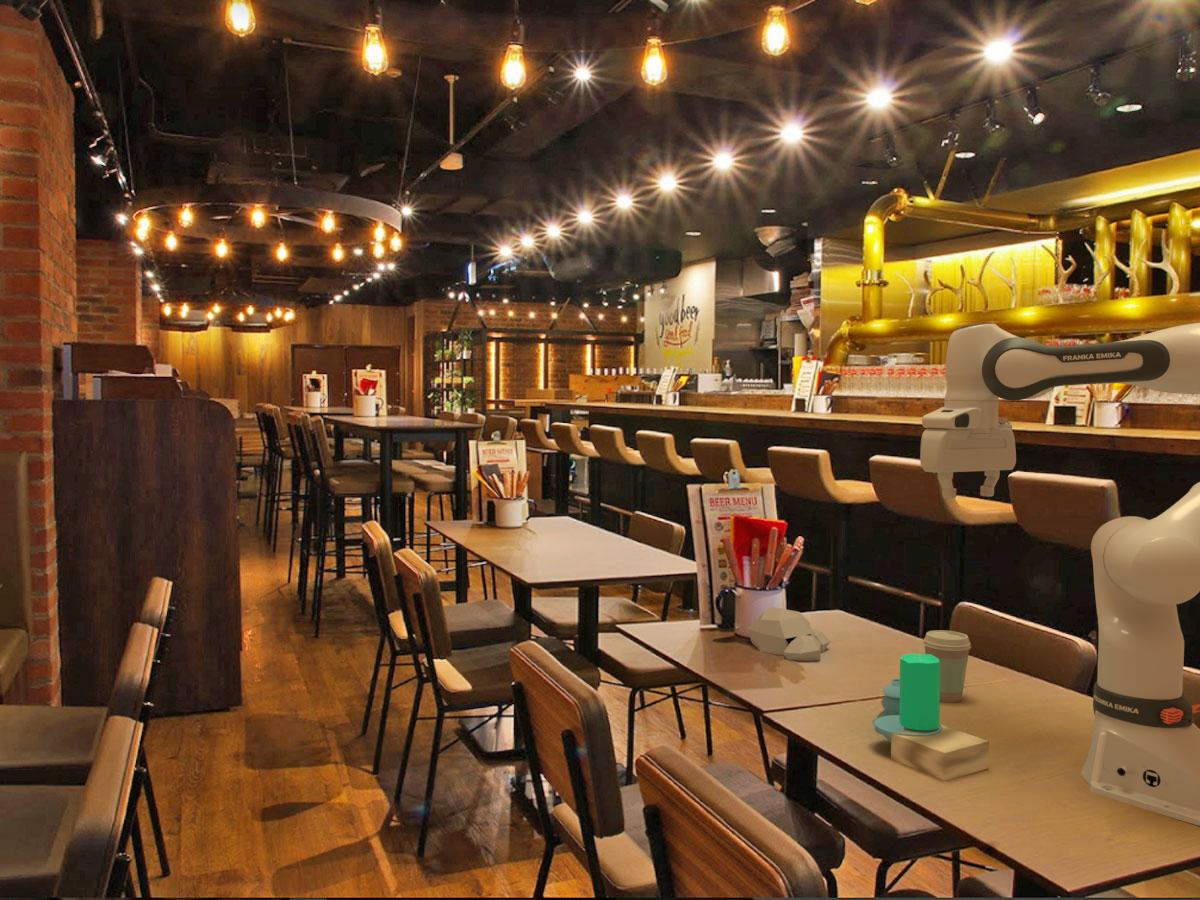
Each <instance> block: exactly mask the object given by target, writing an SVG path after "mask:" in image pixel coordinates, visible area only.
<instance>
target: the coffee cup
mask: <svg viewBox="0 0 1200 900" xmlns="http://www.w3.org/2000/svg"><path fill="white" fill-rule="evenodd" d="M922 644H923V645H924V653H925V654H931V655H933V656H935V657H936V658H938V659H939V661H940V702H943V703H958V702H960V701H962V699H963V694H964V693H963V692H964V687H965V680H966V674H967V666H968V660H969V654H970V649H971V648H972V646H971V641H970V639H969V636H968V635H967V634H965V633H963V632H959V631H953V630H944V629H943V630H941V629H940V630H937V629H935V630H928V631H927V632H926V634H925V636H924V638H923V642H922Z"/></svg>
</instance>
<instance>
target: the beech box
mask: <svg viewBox="0 0 1200 900" xmlns="http://www.w3.org/2000/svg"><path fill="white" fill-rule="evenodd" d="M940 725H941V726H942V730H941V731H940V732H939V733H937V734H934V735H929V736H905V735H898V734H894V733H892V735H891V743H890V744H891V745H890V759H891V760H893V761H896V762H898V763H901V764H903V765H905V766H907V767H910V768H912V769H915V770H917V771H919V772H922V773H924V774H926V775H929V776H931V777H933V778H936V779H938V780H941V781H943V782H945V781H949V780H950V781H951V780H953V779H957V778H961V777H966V776H969V775H973V774H977V773H980V772H985V771H987V770H989V749H990V747H989V746H990V745H989V743H990V740H986V739H983V738H981V737H979V736H976V735H972V734H969V733H967V732H963V731H961V730H957V729H954V728H951V727H949V726H946V725H943V724H940ZM935 730H936V729H934V730H915V729H907V730H903V731H899V733H906V734H925V733H930V732H933V731H935Z"/></svg>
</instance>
